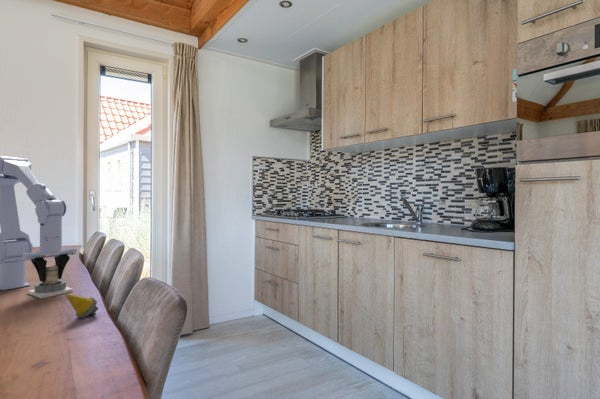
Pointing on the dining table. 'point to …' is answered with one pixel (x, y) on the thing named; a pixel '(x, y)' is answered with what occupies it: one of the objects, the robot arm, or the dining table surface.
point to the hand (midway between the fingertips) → (50, 279)
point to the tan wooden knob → (51, 275)
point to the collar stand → (50, 289)
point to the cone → (82, 305)
